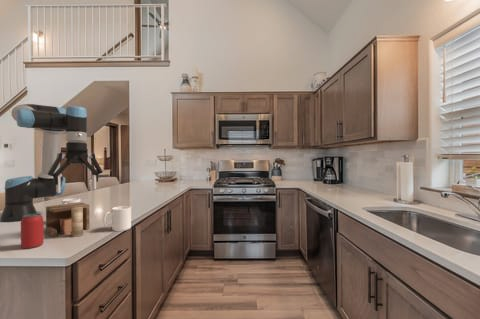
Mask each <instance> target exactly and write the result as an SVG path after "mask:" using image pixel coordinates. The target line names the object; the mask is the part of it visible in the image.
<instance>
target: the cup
mask: <svg viewBox="0 0 480 319" xmlns="http://www.w3.org/2000/svg"><path fill="white" fill-rule="evenodd" d="M108 215H111V223H110V224H108V223H107V222H106V221H107V216H108ZM102 223H103V226H105V227H106V228H111V230H112V231H113V232H124V231H128V230H130V229H131V228H132V206H129V205H122V206H121V205H120V206H114V207H112V208H111V211H107V212H105V213H104V214H103V218H102Z"/></svg>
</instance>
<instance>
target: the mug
mask: <svg viewBox="0 0 480 319" xmlns="http://www.w3.org/2000/svg"><path fill="white" fill-rule="evenodd" d="M77 202H81V198H78V197H75V198H65V199H64V198H63V199H62V200H61V205H62V204H70V203H77Z"/></svg>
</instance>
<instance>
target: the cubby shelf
mask: <svg viewBox="0 0 480 319" xmlns="http://www.w3.org/2000/svg"><path fill="white" fill-rule="evenodd" d="M76 207H83V230H86V231H87V230H90V204H88V203H84V202H77V203H70V204H62V203H61V204H54V205H49V206H45V232H46V233H47V234H49V236H52V238H53V237H58V231H60V219H63V218H69V217H71V209H72V208H76Z"/></svg>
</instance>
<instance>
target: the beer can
mask: <svg viewBox="0 0 480 319" xmlns="http://www.w3.org/2000/svg"><path fill="white" fill-rule="evenodd" d="M43 244H44V217H43V215H42V213H37V214H28V215H24V216H23V218H22V220H21V221H20V247H21V248H22V249H34V248H37V247H40V246H42V245H43Z"/></svg>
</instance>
